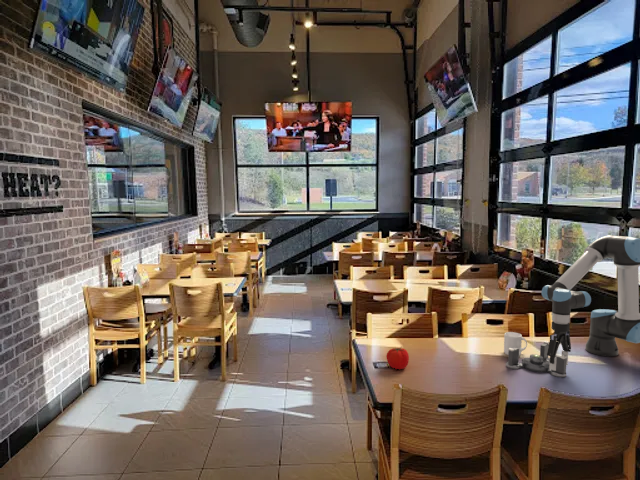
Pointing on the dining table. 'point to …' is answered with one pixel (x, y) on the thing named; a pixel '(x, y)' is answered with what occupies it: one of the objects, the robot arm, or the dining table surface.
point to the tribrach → (536, 365)
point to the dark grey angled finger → (513, 356)
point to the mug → (513, 341)
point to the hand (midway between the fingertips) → (558, 366)
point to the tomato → (397, 358)
